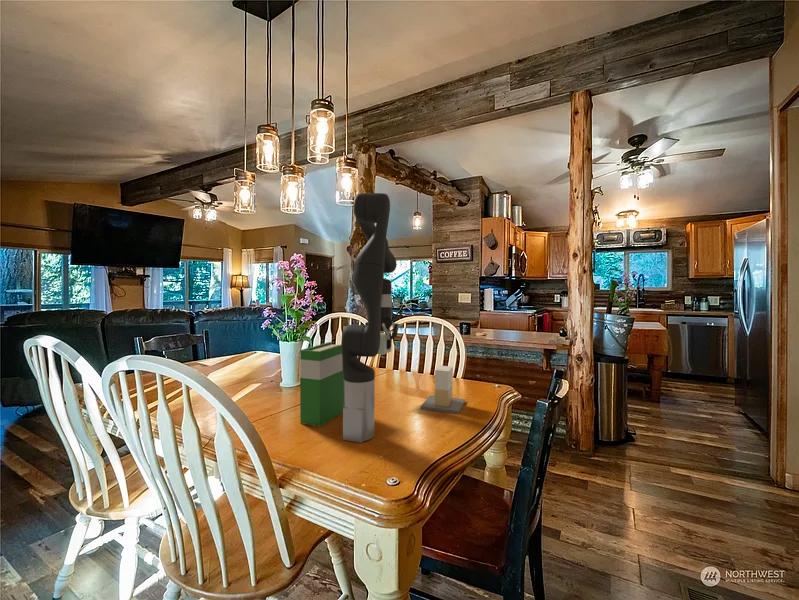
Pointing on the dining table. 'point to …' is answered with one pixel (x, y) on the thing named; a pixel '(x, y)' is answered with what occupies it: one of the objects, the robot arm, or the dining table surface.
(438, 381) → the off white brick
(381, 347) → the sage brick
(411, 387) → the dining table surface
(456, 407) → the board
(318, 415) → the hardback book
